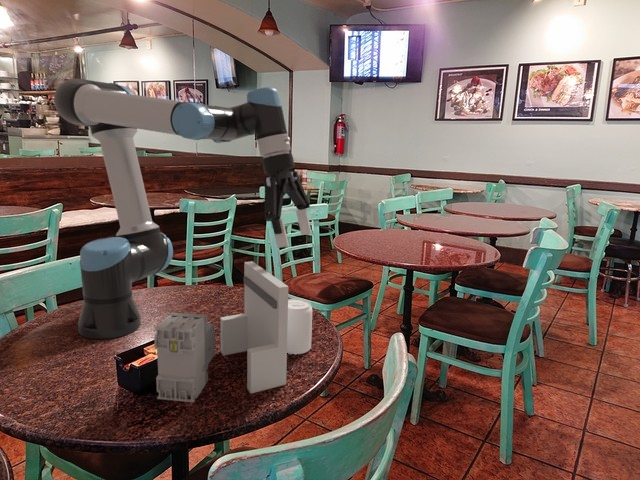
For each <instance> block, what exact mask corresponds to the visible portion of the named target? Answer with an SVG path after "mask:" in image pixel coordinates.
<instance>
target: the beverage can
mask: <svg viewBox="0 0 640 480" xmlns="http://www.w3.org/2000/svg"><path fill="white" fill-rule="evenodd" d="M312 324H313V307H312V304H311V302H310V301H309V300H307V299H304V298H297V297H296V298H288V328H287V353H288V354H287V355H292V354H294V355H293V356H295V355H297V354H298V355H303V354H306V353H307V352H309V351H310V350H311V348H312V333H313V332H312V331H313V325H312ZM298 355H297V356H298Z"/></svg>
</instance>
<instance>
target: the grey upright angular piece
mask: <svg viewBox="0 0 640 480" xmlns="http://www.w3.org/2000/svg"><path fill="white" fill-rule="evenodd" d="M243 266H244V271H243V273H244V276H243V284H244V290H243V291H244V292H243V293H244V298H243V299H244V302H243V303H244V308H243V309H244V311H243V312H244V313H240V314H233V315H227V316H222V317H220V318H219V319H220V322H219V323H220V325H219V326H220V354H222V356H229V355H235V354H238V353H243V352H247V355H246V359H247V360H246V361H247V362H246V363H247V364H246V365H247V366H246V368H247V370H246V371H247V375H246V376H247V379H246V383H247V384H246V386H247V388H246V389H247V391H248V392H249V393H250V394H255V393H258V392H263V391H266V390H270V389H274V388H277V387H282V386H285V385H287V371H288V370H287V367H288V366H287V365H288V364H287V362H288V361H287V360H288V354H287V328H288V299H289V286H288V285H287V284H285V283H284V282H283V281H281V280H280V279H279V278H277V277H276V276H274V275H273V274H271V273H270V272H268V271H267V270H266V269H264V268H263V267H261V266H260V265H258V264H257V263H256V262H254V261H252V260H251V261H244V265H243Z"/></svg>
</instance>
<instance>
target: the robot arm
mask: <svg viewBox="0 0 640 480" xmlns="http://www.w3.org/2000/svg"><path fill="white" fill-rule="evenodd" d="M53 103H54V104H53V105H54V107H55V109H56V112H57V113H58V114H59V116H60V117H61V118H63V119H64V120H65V121H66V122H68V123H70V124H72V125H75V126H80V127H89V128H90V132H91V137H92V138H93V139H95V140H97V142H99V143H100V149H101V153H102V156H103V160H104V166H105V169H106V172H107V173H106V174H107V179H108V181H109V182H108V183H109V185H110V189H111V193H112V199H113V202H114V208H115V211H116V215H117V220H118V222H119V229H118V231H117V232H116V234H115V236H111V237H110V236H109V237H106V238H104V237H103V238H101V237H100V238H97V239H94V240H91V241H89V242H87V243H86V244H84V245H83V246H82V248H80V251H79V257H80V259H79V267H80V274H81V284H82V285H81V286H82V297H83V304H82V308H81V312H80V315H79V318H78V322H77V329H78V330H77V331H78V334H79V335H80V336H82V337H84V338H87V339H92V340H94V339H95V340H106V339H107V340H108V339H115V338H119V337H123V336H127V335H129V334H131V333H133V332H135V331H136V330H138V329H139V328H140V327H141V325H142V322H141V321H142V319H141V318H142V317H141V314H140V311H139V308H138V307H137V304H136V303H135V299H134V298H133V285H132V283H134V282H138V281H140V280H142V279H144V278H147V277H150V276H155V275H157V274H158V273H160V272H162V271H164V270H165V269H166V268H167V267H169V265H170V264H171V261H172V259H173V256H174V255H173V254H174V249H173V243H172V241H171V240H170V238H169V237H167V235H166V234H164V233H163V232H161V229H160V228H161V227H160V225H158V224H157V223H155V222H154V221H153V219H152V215H151V210H150V206H149V202H148V198H147V193H146V188H145V185H144V180H143V175H142V171H141V167H140V162H139V158H138V153H137V150H136V145H135V142H134V136H136V134H137V133H138V129H139V130H144V131H149V132H156V133H162V134H168V135H173V136H180V137H182V138H184V139H188V140H193V141H200V140H212V141H213V142H214V143H216V144H222V143H229V142H232V141H234V140H237V139H241V138H245V137H249V136H253V135H255V137H256V143H257V146H258V150H259V155H260V157H263V158H262V160H261V163H262V168H263V172H264V174H268V175H269V177H264V178H263V186H264V212H263V213H264V217H263V218H264V219H265V220H266V222H271V226H272V229H273V233H274V238H275V243H276V246H277V249H279V248H286V247H289V246H290V244H289V240H288V235H287V230H286V226H285V222H284V218H281V217H282V209H283V203H284V196H285V195H288V197H289V199H290V200H291V202H292V203H293V204H294V206H295V208H296V209H297V210H295V212H296V217H297V221H298V226H299V230H300V231H299V232H300V235H301V236H304V235H310V234H311V235H312V228H311V225H310V224H311V223H310V219H309V214H308V210H307V209H310V207H311V205H310V200H309V198H308V195H307V194H306V191H305V189H304V187H303V185H302V183H301V180H300V178H299V173H298V171H291V169H294V168H295V160H294V157H293V156H294V155H293V154H292V153H291V152H290V151H291V143H290V142H291V138H290V137H289V134H288V131H287V126H286V122H285V121H286V120H285V117H284V110H283V105H282V102H281V98H280V95H279V91H278V89H277V88H275V87H272V86H266V87H260V88H256V89H253V90H249V91H248V92H247V94H246V102H245V103H242V104H239V105H236V106H231V107H226V106H218V105H209V104H203V103H198V102H189V101H188V102H187V101H183V100H182V101H181V100H175V99H174V100H173V99H170V98H169V99H168V98H167V99H166V98H161V97H153V96H146V95H138V94H135V93H134V92H133V90H131V89H130V88H129V87H126V86H124V85H120V84H118V83H114V82H104V81H103V82H102V81H97V80H91V79H90V80H88V79H85V78H84V79H83V78H72V79H71V78H70V79H67V80H65V81H63V82H62V83H60V84H59V85H58V87H57V88H56V89H55V92H54V95H53Z"/></svg>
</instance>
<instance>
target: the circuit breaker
mask: <svg viewBox="0 0 640 480" xmlns="http://www.w3.org/2000/svg"><path fill="white" fill-rule="evenodd" d="M154 331H156V333H155V335H154V350H157V351H156V353H157V356H156V358H157V373H158V374H157V376H156V377H155V380H156V381H155V382H156V393H158V396H157V397H156V399H157V400H165V401H175V402H176V401H177V402H185V403H195V401H196V399H197V398H198V397H199V395H201V392H202V391H203V389H204V388H205V386H206V384H207V383H208V382H209V372H208V371H207V370H209V364H210V362H211V361H212V360H213V358H214V357H215V356H216V355H215V354H216V353H215V350H216V349H215V335H216V333H215V324H214V323H210V322H208V315H205V314H195V313H183V312H182V313H180V312H170V314H168V315H167V316H166V317H165V318H164V319H163V320H162V321H160V322H159V323H158V324H157V325H156V327H154Z"/></svg>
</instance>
